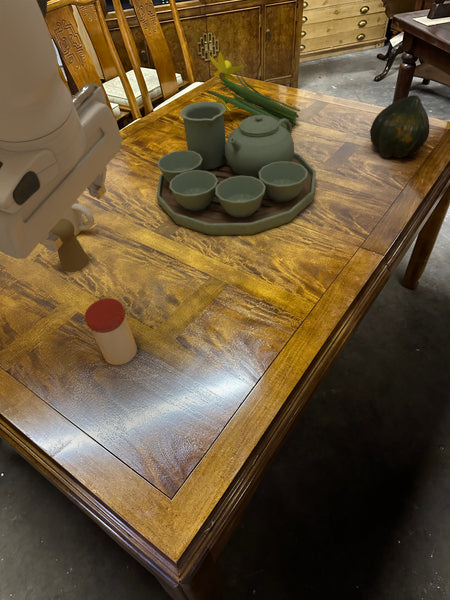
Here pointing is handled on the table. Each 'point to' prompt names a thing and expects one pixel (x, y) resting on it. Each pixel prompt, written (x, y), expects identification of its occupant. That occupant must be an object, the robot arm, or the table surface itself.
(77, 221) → the mug
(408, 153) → the squash
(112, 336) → the jam jar
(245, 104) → the daffodil flowers
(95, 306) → the jam jar lid
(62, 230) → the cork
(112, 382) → the table surface
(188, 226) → the tea set
